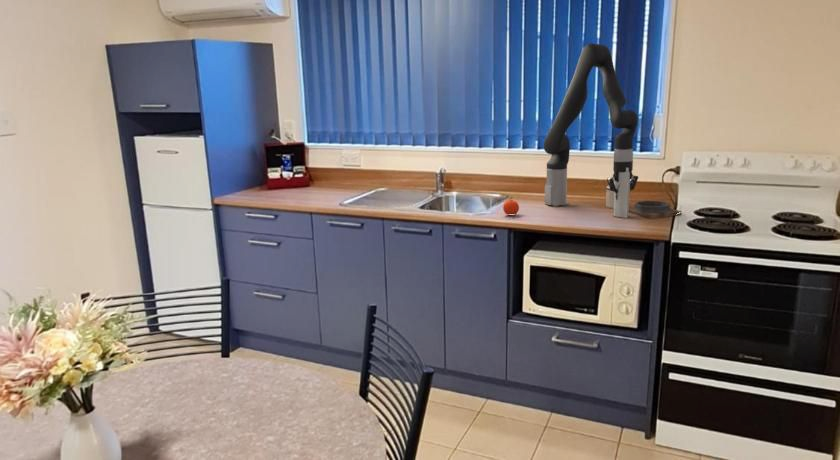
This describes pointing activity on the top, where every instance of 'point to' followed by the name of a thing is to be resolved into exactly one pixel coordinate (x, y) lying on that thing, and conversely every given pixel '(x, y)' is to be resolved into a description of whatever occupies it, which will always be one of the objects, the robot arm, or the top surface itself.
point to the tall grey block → (622, 195)
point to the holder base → (653, 215)
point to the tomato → (510, 207)
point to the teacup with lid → (609, 198)
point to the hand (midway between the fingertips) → (621, 200)
